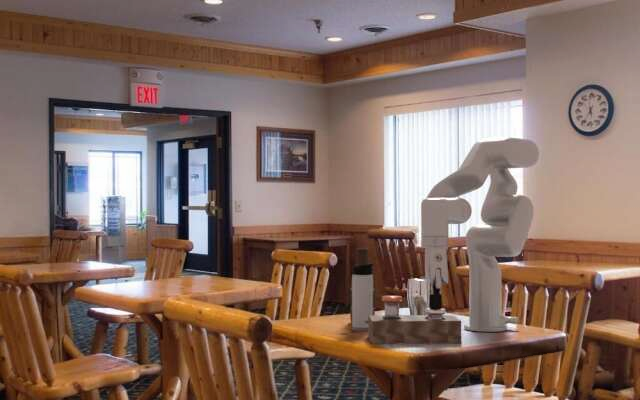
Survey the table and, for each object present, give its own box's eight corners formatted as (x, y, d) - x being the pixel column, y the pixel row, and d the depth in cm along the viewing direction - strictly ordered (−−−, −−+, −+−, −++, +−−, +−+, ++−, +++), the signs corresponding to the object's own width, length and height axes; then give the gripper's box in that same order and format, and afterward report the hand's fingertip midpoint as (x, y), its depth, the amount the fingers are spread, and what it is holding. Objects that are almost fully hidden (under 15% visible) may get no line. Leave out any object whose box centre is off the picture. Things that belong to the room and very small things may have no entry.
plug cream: (443, 337, 213) (443, 308, 213) (447, 340, 207) (447, 310, 207) (423, 337, 212) (423, 308, 213) (426, 340, 207) (426, 310, 207)
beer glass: (434, 328, 230) (433, 279, 231) (425, 331, 224) (425, 280, 225) (412, 326, 234) (412, 278, 234) (403, 329, 228) (403, 279, 228)
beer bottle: (373, 324, 238) (373, 248, 239) (348, 324, 240) (348, 248, 240) (375, 321, 246) (375, 247, 247) (351, 320, 247) (351, 247, 248)
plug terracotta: (400, 324, 212) (400, 295, 213) (403, 327, 207) (403, 297, 207) (380, 325, 212) (380, 295, 212) (382, 327, 207) (382, 297, 207)
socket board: (452, 336, 216) (452, 315, 216) (461, 343, 204) (461, 320, 204) (368, 336, 215) (368, 315, 215) (372, 343, 203) (372, 321, 203)
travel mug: (372, 331, 224) (372, 264, 224) (350, 331, 225) (350, 263, 226) (375, 328, 230) (375, 262, 231) (353, 328, 232) (353, 262, 232)
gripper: (453, 243, 203) (454, 312, 203) (443, 241, 218) (443, 305, 218) (425, 243, 203) (426, 312, 202) (417, 241, 218) (417, 305, 217)
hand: (435, 308), depth 210 cm, fingers closed
